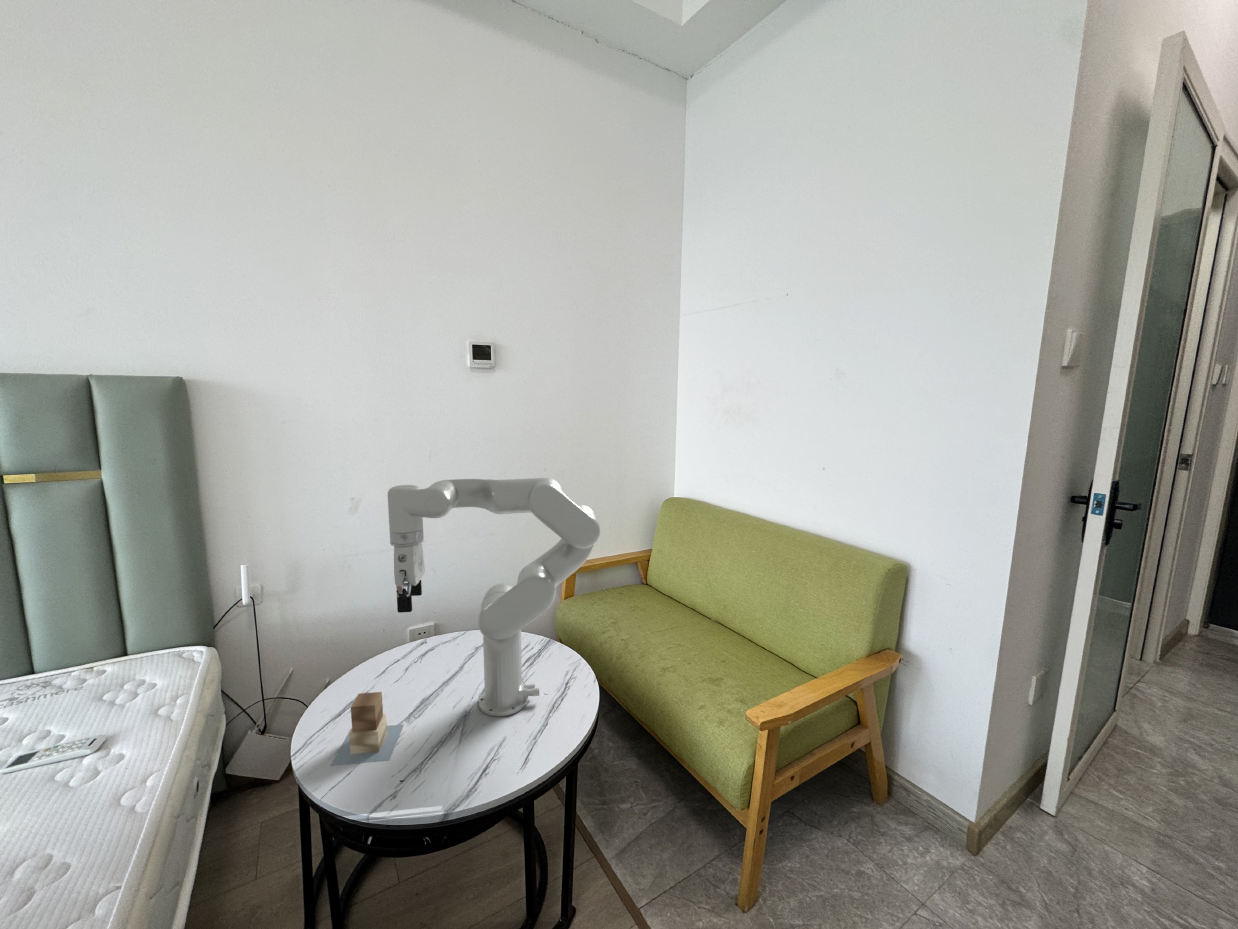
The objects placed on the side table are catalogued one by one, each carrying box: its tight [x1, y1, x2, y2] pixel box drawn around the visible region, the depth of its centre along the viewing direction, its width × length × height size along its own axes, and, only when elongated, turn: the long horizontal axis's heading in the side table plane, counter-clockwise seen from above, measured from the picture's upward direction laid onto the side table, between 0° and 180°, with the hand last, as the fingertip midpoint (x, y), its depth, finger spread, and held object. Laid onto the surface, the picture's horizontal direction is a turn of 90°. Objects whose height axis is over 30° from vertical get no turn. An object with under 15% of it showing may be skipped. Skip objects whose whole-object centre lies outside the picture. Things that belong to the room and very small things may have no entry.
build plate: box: [330, 723, 405, 767], centre depth 115 cm, size 12×12×1 cm
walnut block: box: [350, 691, 384, 732], centre depth 114 cm, size 5×5×6 cm
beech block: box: [348, 713, 388, 754], centre depth 114 cm, size 6×6×5 cm
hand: (410, 603), depth 124 cm, fingers open, 9 cm apart
